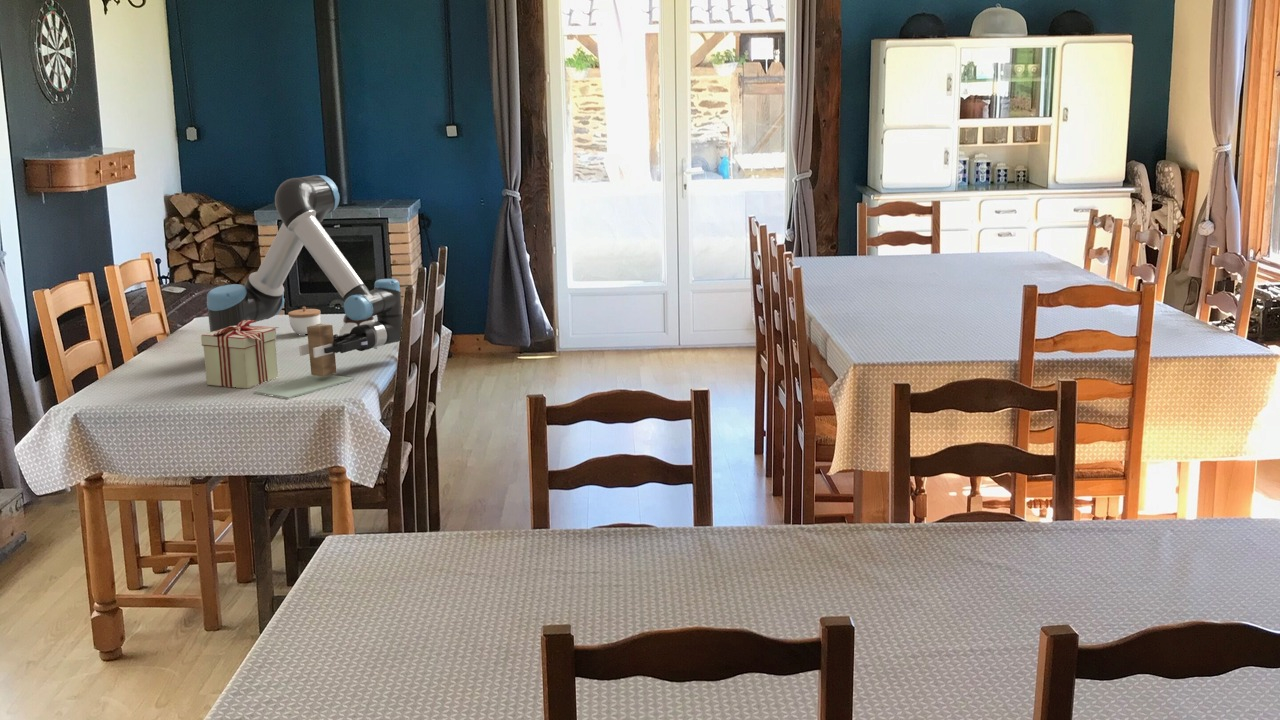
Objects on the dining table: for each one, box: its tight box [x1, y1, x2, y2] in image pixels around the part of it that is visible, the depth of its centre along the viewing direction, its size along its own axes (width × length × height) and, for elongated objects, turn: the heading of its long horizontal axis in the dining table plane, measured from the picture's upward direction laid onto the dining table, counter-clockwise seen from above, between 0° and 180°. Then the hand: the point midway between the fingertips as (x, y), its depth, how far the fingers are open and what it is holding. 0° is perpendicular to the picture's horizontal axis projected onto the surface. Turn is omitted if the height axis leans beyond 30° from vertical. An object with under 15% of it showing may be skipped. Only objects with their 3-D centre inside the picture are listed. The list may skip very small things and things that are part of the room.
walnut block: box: [307, 323, 337, 377], centre depth 350 cm, size 5×5×14 cm
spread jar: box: [338, 314, 375, 336], centre depth 405 cm, size 12×11×12 cm
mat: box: [254, 374, 355, 399], centre depth 346 cm, size 24×14×1 cm, turn 146°
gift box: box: [200, 320, 280, 389], centre depth 353 cm, size 17×18×17 cm
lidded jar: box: [287, 306, 322, 336], centre depth 421 cm, size 11×11×9 cm
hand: (307, 351), depth 346 cm, fingers closed on walnut block, 5 cm apart
